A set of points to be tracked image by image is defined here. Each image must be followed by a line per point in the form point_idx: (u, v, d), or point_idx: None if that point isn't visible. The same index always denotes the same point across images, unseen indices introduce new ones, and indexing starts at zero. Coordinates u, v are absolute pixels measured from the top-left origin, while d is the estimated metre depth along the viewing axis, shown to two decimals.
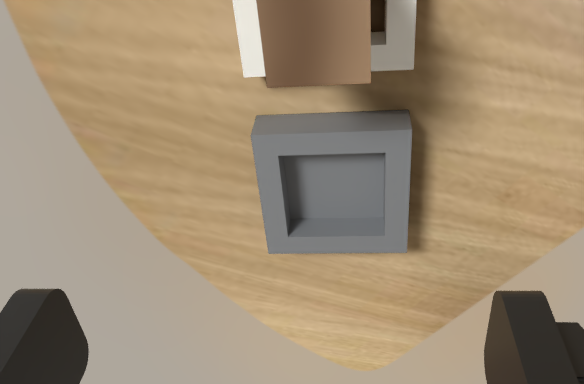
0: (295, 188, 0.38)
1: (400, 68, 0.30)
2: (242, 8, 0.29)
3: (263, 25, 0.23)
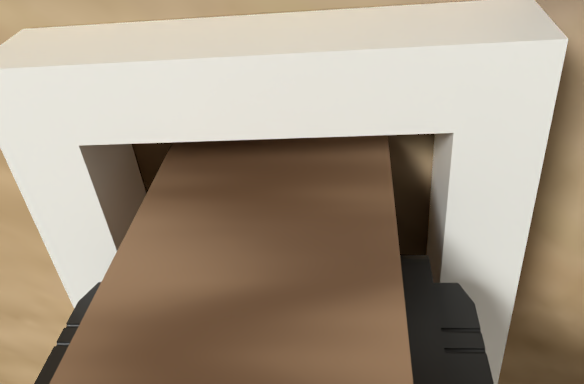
0: None
1: None
2: None
3: None
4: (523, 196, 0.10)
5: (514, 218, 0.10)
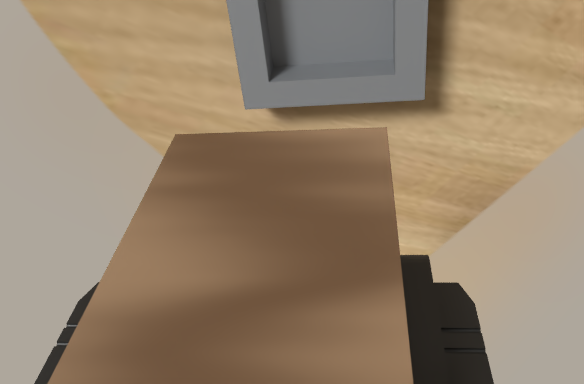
0: (278, 18, 0.29)
1: None
2: None
3: None
4: None
5: None
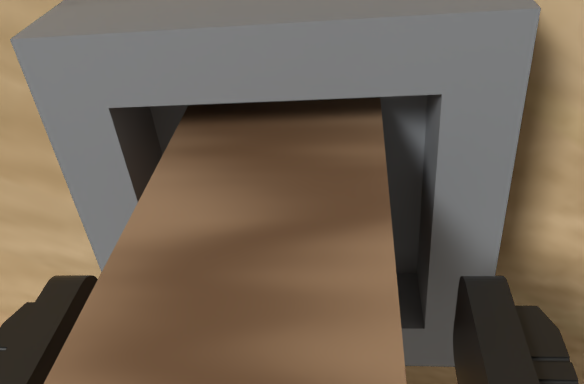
0: None
1: None
2: None
3: None
4: None
5: None
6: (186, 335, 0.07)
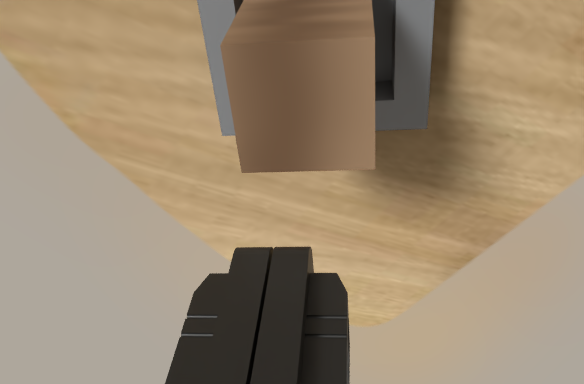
0: None
1: None
2: None
3: (234, 99, 0.17)
4: None
5: None
6: (283, 18, 0.18)
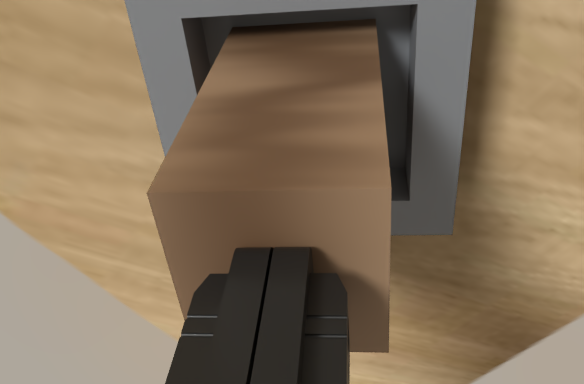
0: None
1: None
2: None
3: (175, 262, 0.11)
4: None
5: None
6: (251, 133, 0.12)
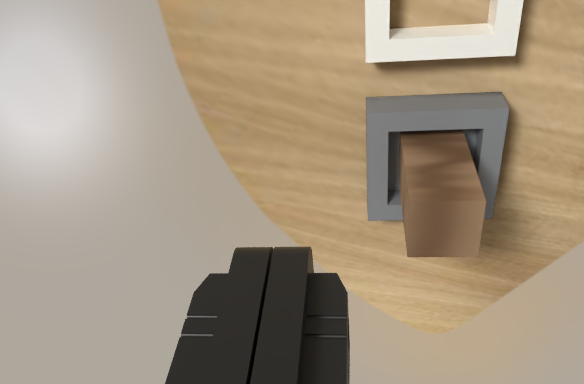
0: (394, 162, 0.43)
1: (503, 54, 0.36)
2: (373, 3, 0.34)
3: (411, 224, 0.35)
4: None
5: None
6: (433, 181, 0.35)
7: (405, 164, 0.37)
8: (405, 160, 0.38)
